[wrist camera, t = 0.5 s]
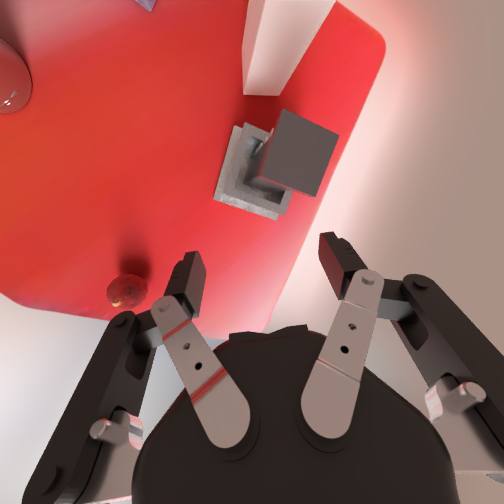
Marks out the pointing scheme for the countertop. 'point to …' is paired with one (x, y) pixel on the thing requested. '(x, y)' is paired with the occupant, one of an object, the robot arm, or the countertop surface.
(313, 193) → the column
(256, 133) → the stand
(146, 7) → the cake pan box
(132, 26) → the countertop surface
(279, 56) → the milk
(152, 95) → the countertop surface
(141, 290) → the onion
